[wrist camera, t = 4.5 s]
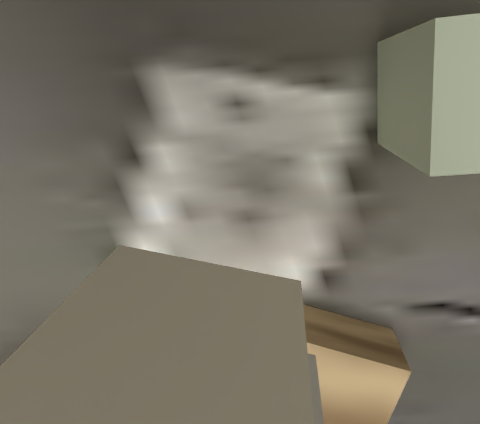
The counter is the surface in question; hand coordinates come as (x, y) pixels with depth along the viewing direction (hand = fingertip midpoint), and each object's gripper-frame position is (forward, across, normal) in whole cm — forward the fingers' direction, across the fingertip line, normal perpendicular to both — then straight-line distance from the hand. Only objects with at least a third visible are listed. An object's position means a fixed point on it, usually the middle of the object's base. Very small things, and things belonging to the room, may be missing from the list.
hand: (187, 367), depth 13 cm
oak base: (+17, +7, -11) cm, 21 cm away
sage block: (+17, +10, +10) cm, 22 cm away
